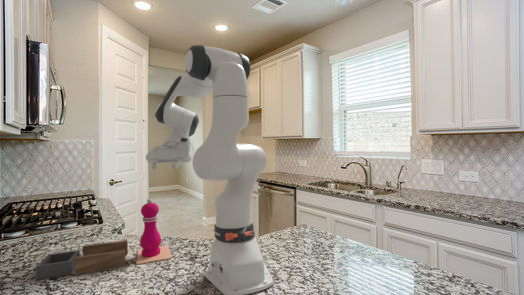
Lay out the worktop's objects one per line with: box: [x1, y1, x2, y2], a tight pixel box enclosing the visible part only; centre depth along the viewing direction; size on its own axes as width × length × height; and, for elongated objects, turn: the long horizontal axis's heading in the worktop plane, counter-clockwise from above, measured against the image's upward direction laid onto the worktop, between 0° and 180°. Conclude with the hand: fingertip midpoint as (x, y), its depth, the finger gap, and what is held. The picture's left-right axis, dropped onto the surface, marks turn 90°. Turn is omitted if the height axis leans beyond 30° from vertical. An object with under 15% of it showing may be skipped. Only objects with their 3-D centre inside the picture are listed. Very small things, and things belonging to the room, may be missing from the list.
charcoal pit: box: [35, 249, 81, 281], centre depth 90 cm, size 11×9×4 cm
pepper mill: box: [139, 198, 162, 257], centre depth 100 cm, size 7×7×20 cm
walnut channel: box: [74, 239, 129, 275], centre depth 95 cm, size 13×14×5 cm
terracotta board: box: [135, 245, 172, 266], centre depth 101 cm, size 14×11×1 cm
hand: (163, 168), depth 113 cm, fingers open, 8 cm apart
